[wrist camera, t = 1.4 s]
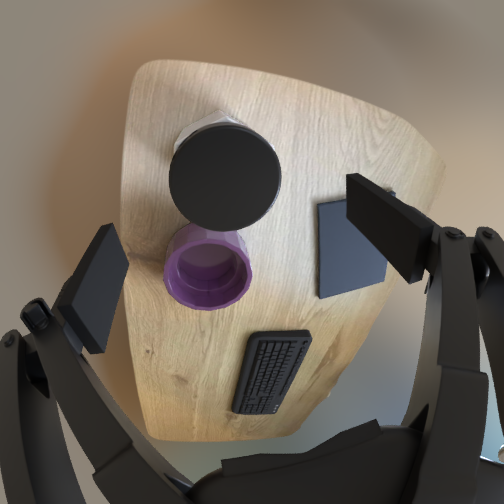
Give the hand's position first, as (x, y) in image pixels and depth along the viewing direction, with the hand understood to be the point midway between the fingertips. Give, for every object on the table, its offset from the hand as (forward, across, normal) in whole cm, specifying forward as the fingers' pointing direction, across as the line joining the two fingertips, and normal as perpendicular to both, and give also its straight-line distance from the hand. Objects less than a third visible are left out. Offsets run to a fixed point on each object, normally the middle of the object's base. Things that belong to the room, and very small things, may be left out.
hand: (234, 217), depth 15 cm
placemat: (+18, +17, -17) cm, 30 cm away
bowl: (+18, -4, -13) cm, 22 cm away
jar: (+18, 0, 0) cm, 18 cm away
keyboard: (+18, 0, -45) cm, 48 cm away
